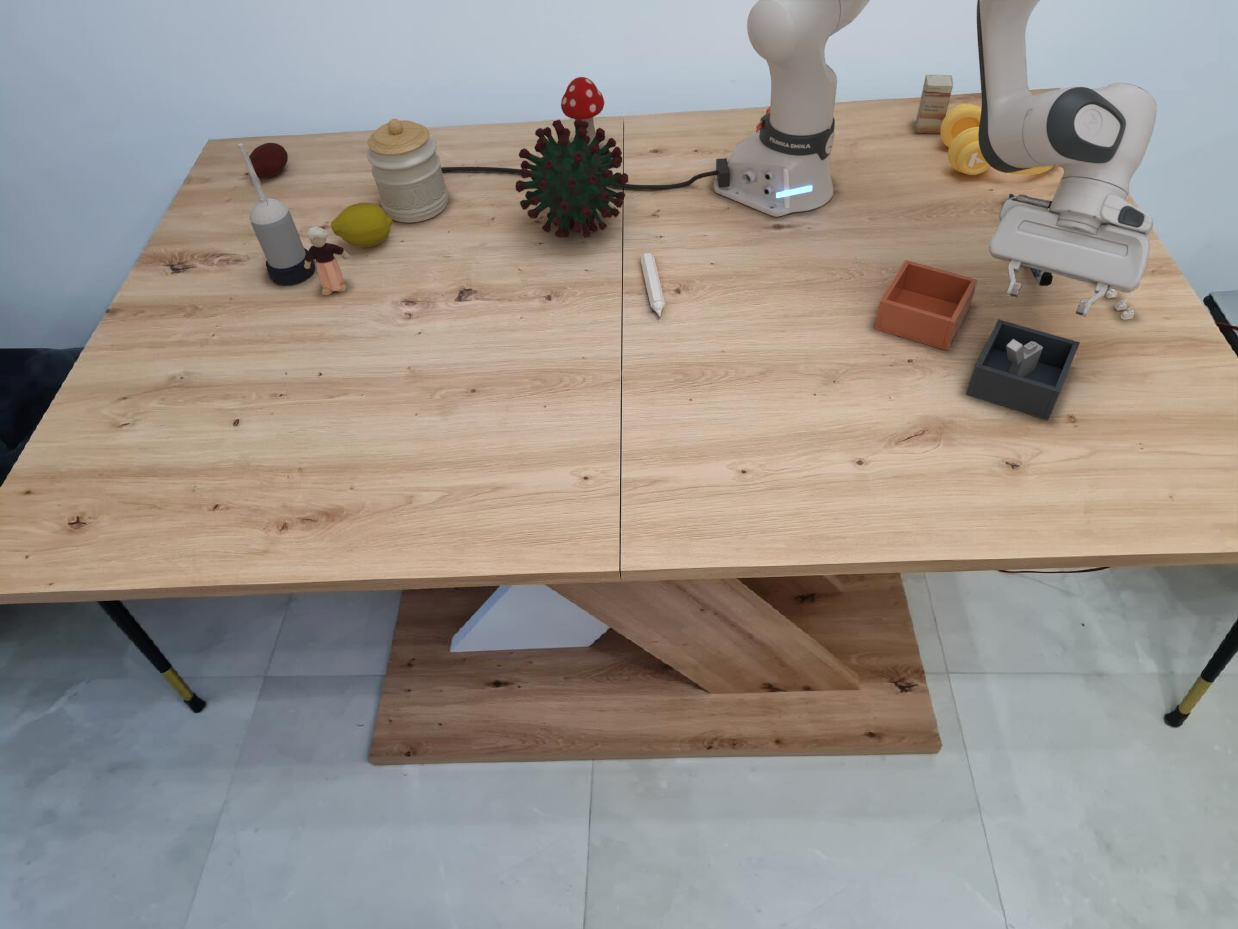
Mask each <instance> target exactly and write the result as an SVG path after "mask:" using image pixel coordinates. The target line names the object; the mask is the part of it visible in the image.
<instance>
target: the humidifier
mask: <svg viewBox="0 0 1238 929" xmlns="http://www.w3.org/2000/svg"><path fill="white" fill-rule="evenodd" d="M237 146H238V149H239V151H240V154H241V156H242V159H243V161H244V164H245V167H246V168H247V171H248V173H249V176H250V179H251V181H252V184H253V187H254V188H255V191H256V194H257V195H258V201H256V202H255V204H253V206H252V207H251V209H250V211H249V221H250V224H251V227H252V229H253V232H254V234H255V236H256V238H257V240H258V243H259V245H260V248H261V250H262V251H263V254H264V257H265V259H266V260H265V267H266V272H267V273H268V274H267V275H268V276H269V278H270V280H271V282H272V283H273V284H275V285H277V286H280V287H281V286H282V287H292V286H296V285H299V284H301V283H304V282H306V281H307V280H308V279H311V277H312V276H313V275H314V273H315V271H316V263H315V262H314V261H315V260H313V261H311V264H310V268H309V269H306V268H305V267H304V264H305V257H306V254H307V252H308V250H309V249H307V248H305V246H304V244H303V242H302V239H301V237H300V234H299V231H298V229H297V227H296V224H295V222H294V218H293V217H292V214H291V211H290V209H289V208H288V206H287V205H286V204H285V203H284V202H282V201H280V200H278V199H275V198H272V197H271V198H270V197H267V196H266V194H265V192H264V190H263V186H262V183H261V181H260V178H258V177H256V176H257V175H256V173H255V171H254V168H252V167H253V165H251V164H252V163H250V162H251V160H250V161H249V159H250V158H249V156H250V154H248V151H247V150H246V149H245V147H244V144H243V143H242V142H241V143H238V144H237Z"/></svg>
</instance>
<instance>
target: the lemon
mask: <svg viewBox="0 0 1238 929" xmlns="http://www.w3.org/2000/svg"><path fill="white" fill-rule="evenodd" d="M393 222H394V220H393V219H391V218H390V217H388V216H387V215H386V213H385V211H384V209H383V208H382V206H379V205H378V204H375V203H374V202H373V203H372V202H358V203H354V204H352V205H351V204H350V205H349V206H347V207H345V209H343V210H342V211H341V212H340V213H339V214H337V216H336V217H335V218H334V219H333V220H332V221H331V222H330V227H331V230H332V232H333V234H334V235H335V236H337V237H340V238H341V239H342V240H343V241H344V242H345V243H347V244H349V245H351V246H354V247H356V248H357V247H358V248H371V247H375V246H378V245H379V244H381V243H383V242H384V241H385V240H386V239H387V238H388V236H389V234H390V232H391V227H392V225H393Z"/></svg>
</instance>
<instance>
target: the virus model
mask: <svg viewBox="0 0 1238 929" xmlns="http://www.w3.org/2000/svg"><path fill="white" fill-rule="evenodd" d="M551 124H552V125H551V126H552V128H554V131H555V133H556V136H557V142H556V140H555V138H554V137H553V135H552V133H553V132H552V128H551V127H549V126H545V127H544V128H542V127H539V128H537V129H536V130H535V132H534V135H535V136H536V137H538V139H537V141H536V143H535V145H534V148H533V149H534V151H535V153H539V154H540V155H541V156H542V157H540V156H538V155H535V154H533V153H531V152H530V151H529V150H528V149H527V148H524V147H523V148H522V149H520V150H519V152H518V157H519V159H525V160H522V162H521V163H520V166H519V167H520V169H521V171H520V173H519V174H520V177H521V179H528V178H530V179H531V180H527V181H523V180H520V179H519V180H517V181H515V190H516V192H518V193H519V194H520V193H521V192H523V191H526V190H527V191H526V193H525V194H524V198H525V199H521V200H520V201H519V204H520V207H521V210H528V211H527V212H526V214H527V216H528V217H529V218H530V219H535V220H536V219H538V217H539V215H540V214H541V213H542V212H544V211H545V210H546V209H549V211H548V212H547V213H546V218H547V220H546V222H545V223H544V224H543V225H542V226H541V230H542V231H543V232H545V233H547V234H549V233H550V231H551V230H552V225H553V226H554V227H555V228H557V229H556V231H555V232H554V237H556V238H560V239H561V238H569V237H570V230H569V229H572V231H573V232H574V233H575V234H580V233H581V232H582V237H583V238H584V239H586V238H590V237H591V236H592V233H596V232H597V231H598V229H599V230H601V231H604V230H605V229H607V228H608V225H607V223H606V222H605V221H603V220H602V219H607V218H609V219H611V218H612V217H614V218H617V217H618V216H619V215H620V214H621V212H620V210H619V209H621V208H622V206H623V205H624V200H625V197H626V194H625V192H623V191H618V192H617V191H615V190H613V189H610V188H608V187H607V186H606V185H608V184H610V183H618V184H621V185H623V186H624V185H625V184H628V183H629V174H628V173H626V172H623V173H622V172H618V171H617V172H615V173H613V170H611V169H619V168H620V167H622V164H623V156H622V154H623V153H622V149H621V148H620V147H619V146H617V141H616V140H615V138H613V137H610V138H608V140H607V141H606V143H605V144H604V145H603V146H602V147H601V146H600V147H599V143H600V144H601V143H602V142H604V141H605V140H606V130H604V128H602V127H598V128H595V132H596V135H595V137H594V139H593V140H592V142H591V143H590V144H589V142H590V137H589V136H588V135H587V132H588V131H587V128H588V122H585V121H582V120H578V119H576V120H575V119H574V121H573V125H574V137H573V139H572V140H571V141H570V136H571V130H570V128H567V127H565V126H564V124H563V122H562V121H561V119H556V120H553V122H552V123H551ZM588 144H589V145H588ZM611 148H613V149H612V150H610V149H611ZM527 160H528V161H527ZM529 161H530V162H531V163H530V162H529ZM532 163H533V164H532ZM529 170H531V171H529ZM532 171H534V172H532ZM531 190H532V191H531ZM609 203H612V204H613V205H614V206H615V207H616V208H615V207H612V206H611V205H610V204H609ZM530 206H533V207H534V208H532V209H528V208H529V207H530ZM598 211H599V213H600V215H601V217H600V215H599V213H598ZM601 218H602V219H601ZM595 220H596V222H597V223H598V225H597V224H596V223H595ZM587 223H588V225H587Z"/></svg>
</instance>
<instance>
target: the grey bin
mask: <svg viewBox="0 0 1238 929" xmlns="http://www.w3.org/2000/svg"><path fill="white" fill-rule="evenodd" d="M1012 339H1014V340H1016V341H1017V342H1019V343H1020V344H1022V345H1023V346H1024V345H1026V344H1028V343H1029V342H1031V341H1032V342H1036V343H1037V344H1039V345H1041V346H1042V347H1043V349H1042V352H1041V354H1040V357H1039V360H1038V362H1037V365H1036V368H1035V370H1033V371H1032V372H1030V373H1029V374H1027V375H1025V376H1024V377H1021V376H1017V375H1014V374H1011V373H1008V372H1009V369H1010V366H1011V364H1012V362H1011V361H1010V360H1008V356H1007V349H1006V345H1007V344H1008V343H1009V342H1010V341H1011V340H1012ZM1080 344H1081V341H1077V340H1073V339H1070V338H1066V337H1062V336H1059V335H1055V334H1052V333H1048V332H1045V331H1041V330H1038V329H1034V328H1031V327H1027V326H1023V325H1020V324H1017V323H1013V322H1010V321H1007V320H1003V319H997V321H996V323H995V325H994V327H993V329H992V331H991V333H990V335H989V337H988V339H987V341H986V343H985V345H984V346H983V349H982V351H981V354H980V355H979V357H978V359H977V361H976V363H975V366H974V368H973V370H972V374H971V378H970V381H969V384H968V387H967V391H966V395H967V396H970V397H973V398H977V399H979V400H982V401H986V402H989V403H992V404H995V405H998V406H1002V407H1005V408H1008V409H1010V410H1014V411H1017V412H1021V413H1022V414H1023V413H1024V414H1027V415H1029V416H1032V417H1036V418H1040V419H1043V420H1046V421H1049V420H1050V418H1051V415H1052V412H1053V410H1054V408H1055V405H1056V403H1057V400H1058V398H1059V396H1060V393H1061V392H1062V389H1063V386H1064V383H1065V382H1066V378H1067V376H1068V373H1069V371H1070V368H1071V367H1072V363H1073V362H1074V358H1075V357H1076V354H1077V351H1078V349H1079V347H1080Z"/></svg>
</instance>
